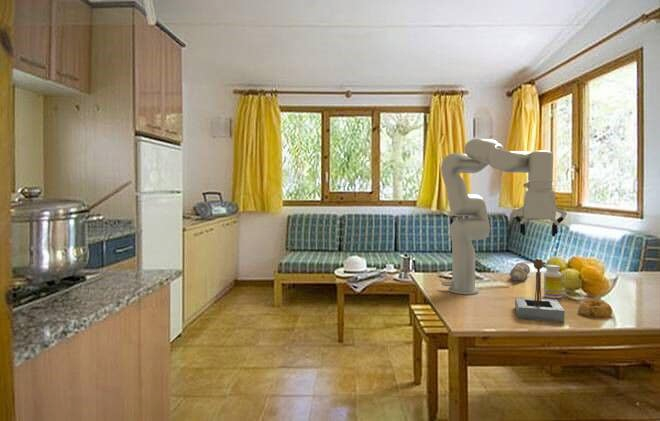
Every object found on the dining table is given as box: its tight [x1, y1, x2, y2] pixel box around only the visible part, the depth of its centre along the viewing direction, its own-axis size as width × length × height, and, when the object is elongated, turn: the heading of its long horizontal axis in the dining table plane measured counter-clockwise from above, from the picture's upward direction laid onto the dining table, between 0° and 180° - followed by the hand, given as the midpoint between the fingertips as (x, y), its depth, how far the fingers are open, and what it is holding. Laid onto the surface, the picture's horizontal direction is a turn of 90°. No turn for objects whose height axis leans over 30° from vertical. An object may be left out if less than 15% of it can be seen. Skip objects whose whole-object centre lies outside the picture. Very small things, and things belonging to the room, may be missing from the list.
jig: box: [514, 296, 565, 323], centre depth 156 cm, size 14×15×4 cm
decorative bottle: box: [509, 262, 531, 282], centre depth 218 cm, size 26×8×7 cm, turn 149°
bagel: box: [577, 299, 613, 319], centre depth 157 cm, size 10×11×5 cm
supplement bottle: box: [543, 264, 563, 300], centre depth 182 cm, size 7×7×13 cm
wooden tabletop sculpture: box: [533, 258, 546, 307], centre depth 156 cm, size 6×5×20 cm
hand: (538, 235), depth 155 cm, fingers open, 9 cm apart
